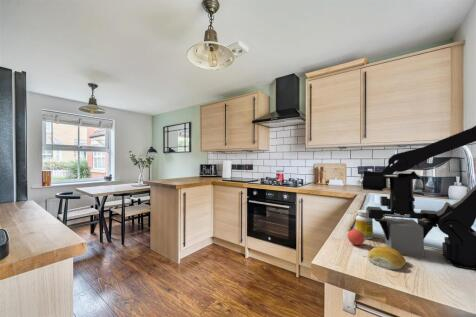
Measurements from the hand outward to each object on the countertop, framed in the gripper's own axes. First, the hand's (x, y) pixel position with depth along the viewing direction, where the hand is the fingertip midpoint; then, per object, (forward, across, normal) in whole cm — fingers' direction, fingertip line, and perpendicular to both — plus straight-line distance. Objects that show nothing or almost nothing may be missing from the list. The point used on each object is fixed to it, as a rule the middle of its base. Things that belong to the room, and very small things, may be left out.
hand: (402, 241), depth 62 cm
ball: (0, +13, +1) cm, 13 cm away
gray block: (+2, 0, 0) cm, 2 cm away
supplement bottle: (+3, +9, -8) cm, 12 cm away
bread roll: (+3, +7, +11) cm, 13 cm away
